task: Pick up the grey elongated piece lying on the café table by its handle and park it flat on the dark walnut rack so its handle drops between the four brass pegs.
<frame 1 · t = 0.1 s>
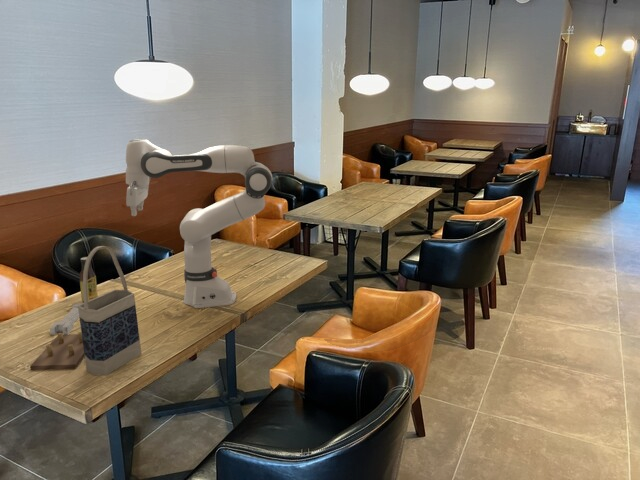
hand: (137, 213, 206), 39 cm above the table, tool pointing down, fingers open, 8 cm apart
sauce bottle: (90, 303, 215), on the table
bag: (114, 362, 167), on the table
peg rack: (67, 352, 173), on the table
grey elongated piece: (72, 320, 198), on the table
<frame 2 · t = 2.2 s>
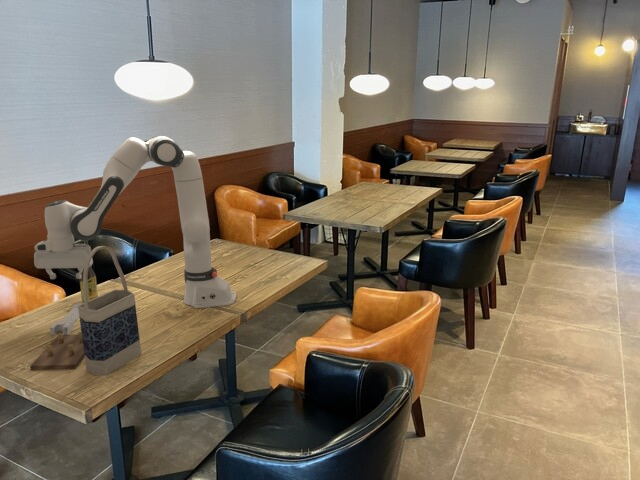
hand: (66, 278, 193), 18 cm above the table, tool pointing down, fingers open, 8 cm apart
nothing on the table moved.
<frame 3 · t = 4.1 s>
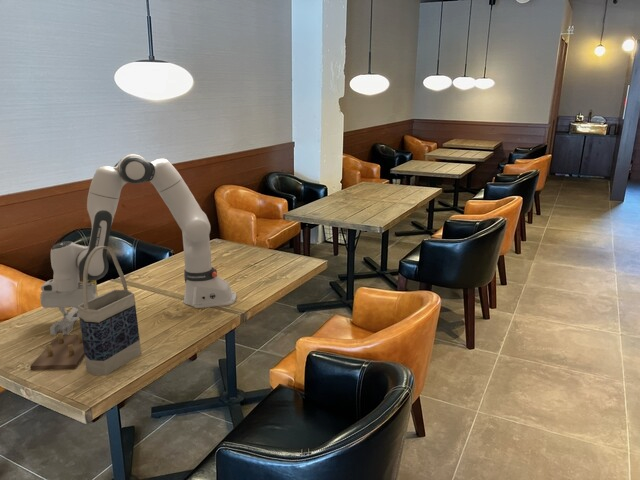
hand: (71, 316, 197), 2 cm above the table, tool pointing down, fingers closed on grey elongated piece, 3 cm apart
grey elongated piece: (72, 320, 198), on the table, touching gripper
everything else where it was.
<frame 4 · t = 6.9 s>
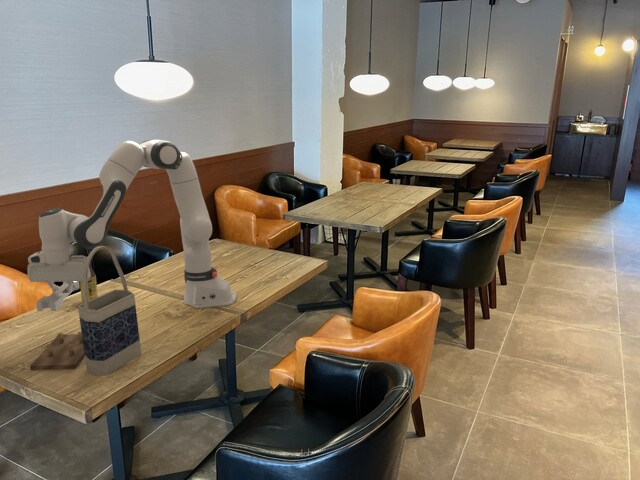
hand: (62, 292, 179), 17 cm above the table, tool pointing down, fingers closed on grey elongated piece, 3 cm apart
grey elongated piece: (62, 296, 180), point 16 cm above the table, touching gripper
everything else where it was.
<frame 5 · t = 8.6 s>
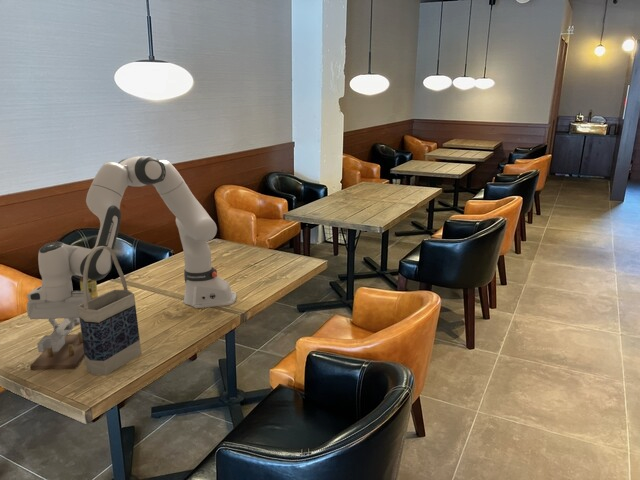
hand: (63, 329, 171), 9 cm above the table, tool pointing down, fingers closed on grey elongated piece, 3 cm apart
grey elongated piece: (64, 333, 171), point 7 cm above the table, touching gripper
everything else where it was.
when the fingers open (5 cm above the table, at t = 9.7 s): grey elongated piece drops 1 cm, resting on peg rack.
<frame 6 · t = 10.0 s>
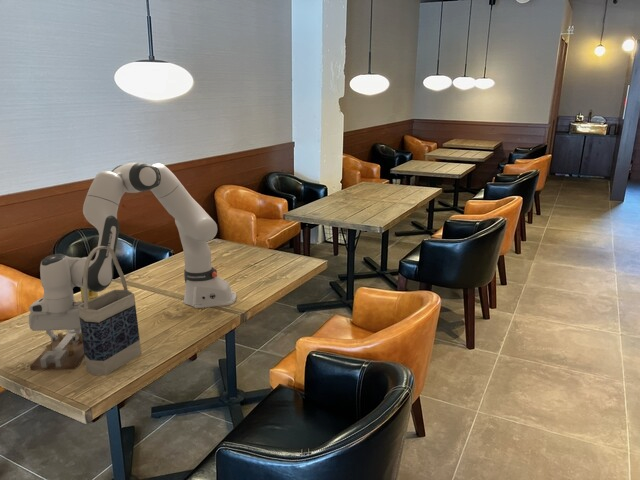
hand: (65, 340, 172), 5 cm above the table, tool pointing down, fingers open, 5 cm apart
grey elongated piece: (66, 348, 173), point 1 cm above the table, touching peg rack
everything else where it was.
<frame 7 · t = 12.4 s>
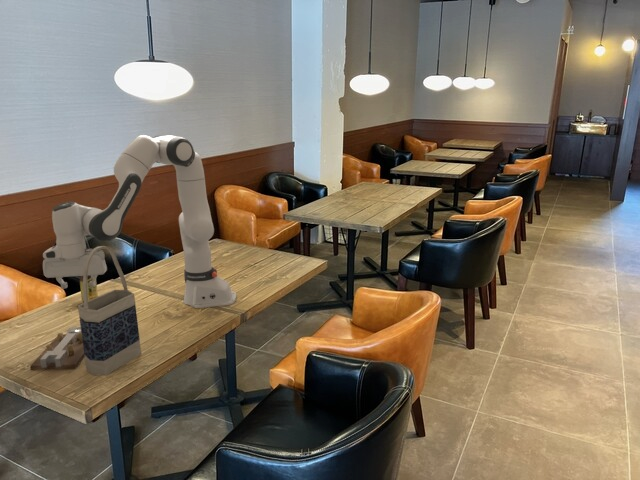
hand: (78, 287, 177), 20 cm above the table, tool pointing down, fingers open, 8 cm apart
nothing on the table moved.
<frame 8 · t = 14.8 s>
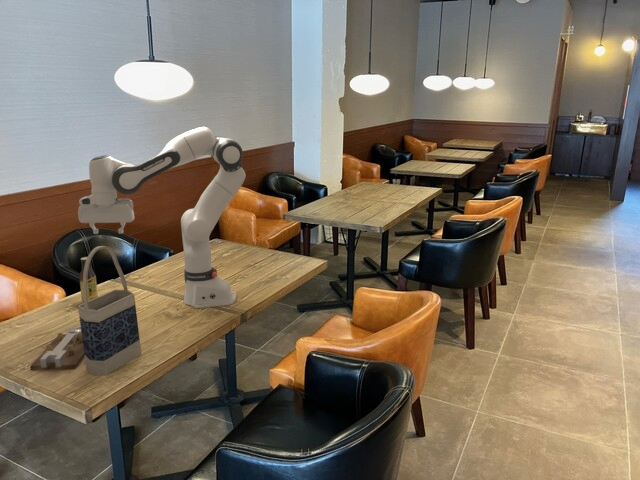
hand: (108, 233, 197), 33 cm above the table, tool pointing down, fingers open, 8 cm apart
nothing on the table moved.
at the end: grey elongated piece 0.1 cm off-centre on the peg rack, point 1.5 cm above the peg rack's base; grey elongated piece tilted 0°; the gripper is holding nothing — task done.
